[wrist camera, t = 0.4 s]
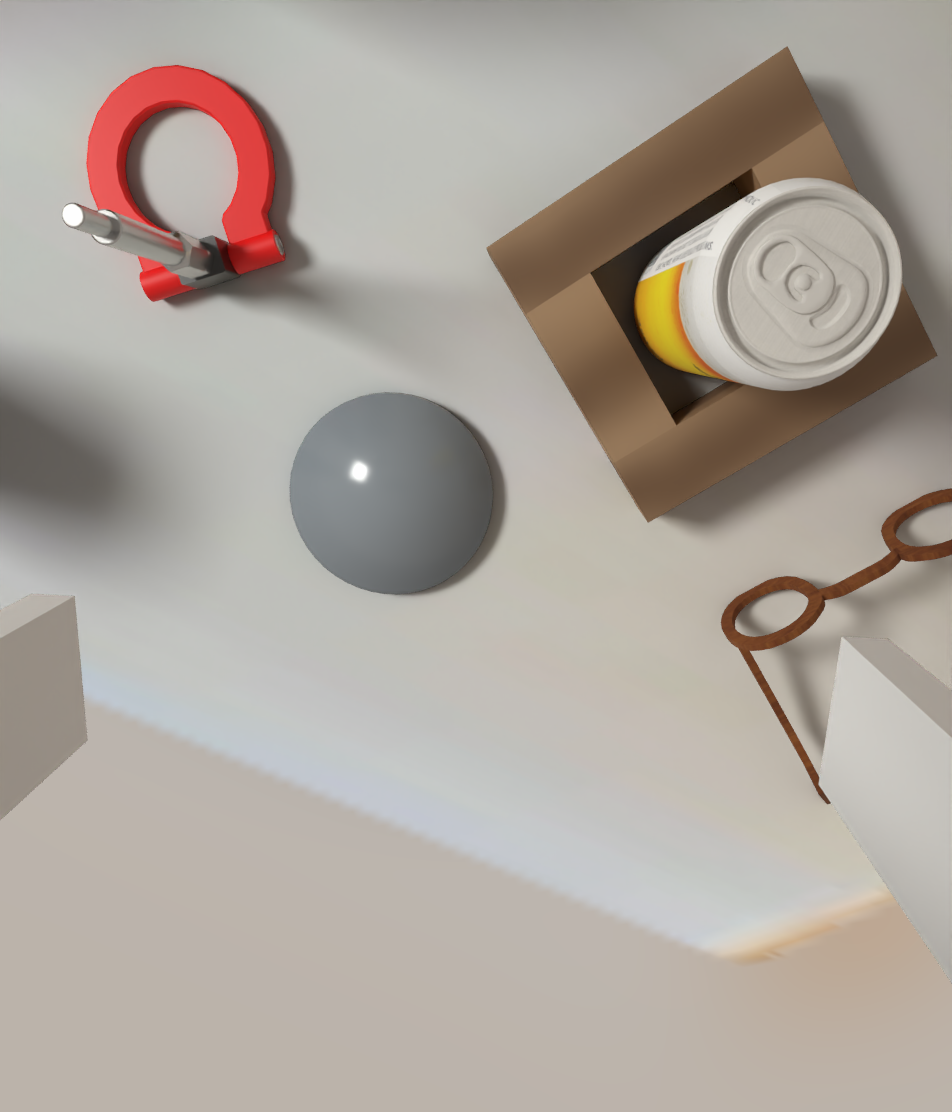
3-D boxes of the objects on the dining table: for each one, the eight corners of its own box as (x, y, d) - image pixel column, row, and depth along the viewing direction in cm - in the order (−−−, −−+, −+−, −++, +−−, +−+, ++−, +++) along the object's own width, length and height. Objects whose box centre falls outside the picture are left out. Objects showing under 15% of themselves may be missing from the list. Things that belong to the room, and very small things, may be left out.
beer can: (703, 398, 39) (811, 434, 25) (604, 316, 38) (656, 305, 24) (793, 291, 38) (963, 264, 23) (691, 205, 37) (803, 121, 23)
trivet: (253, 461, 41) (249, 463, 40) (421, 351, 39) (420, 352, 39) (365, 625, 43) (363, 629, 42) (530, 527, 41) (530, 529, 41)
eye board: (488, 254, 38) (486, 247, 35) (765, 69, 36) (787, 46, 33) (638, 509, 41) (648, 522, 38) (905, 353, 38) (937, 355, 35)
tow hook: (71, 108, 38) (142, 310, 40) (-155, -27, 25) (-36, 279, 27) (242, 48, 37) (308, 258, 39) (97, -123, 24) (203, 200, 26)
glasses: (951, 475, 40) (1010, 495, 35) (1056, 690, 43) (1124, 735, 38) (707, 607, 42) (731, 642, 38) (820, 803, 45) (857, 860, 40)
